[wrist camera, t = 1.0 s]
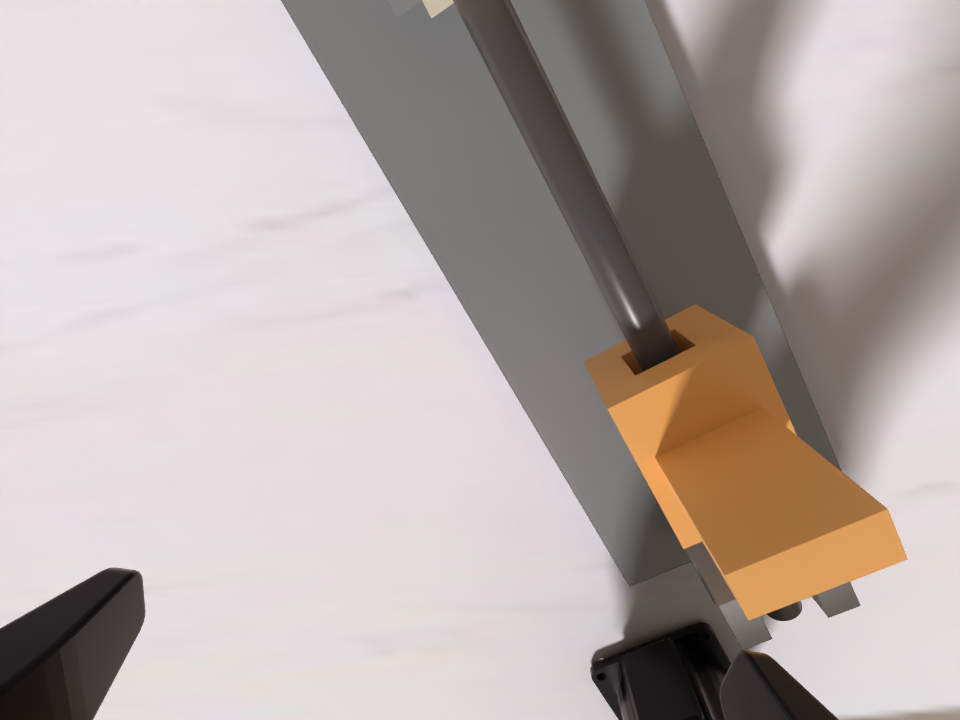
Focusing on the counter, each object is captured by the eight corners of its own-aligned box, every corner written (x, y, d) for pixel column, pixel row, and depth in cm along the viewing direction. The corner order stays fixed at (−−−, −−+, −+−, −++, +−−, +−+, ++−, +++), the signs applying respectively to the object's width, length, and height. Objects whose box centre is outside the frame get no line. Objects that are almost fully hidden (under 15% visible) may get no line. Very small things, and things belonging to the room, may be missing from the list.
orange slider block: (752, 427, 18) (963, 622, 10) (646, 476, 18) (759, 695, 10) (695, 304, 16) (883, 408, 8) (583, 361, 17) (657, 509, 9)
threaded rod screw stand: (829, 475, 23) (983, 607, 15) (621, 564, 24) (673, 719, 17) (511, -269, 15) (521, -681, 8) (252, -63, 17) (72, -250, 10)
